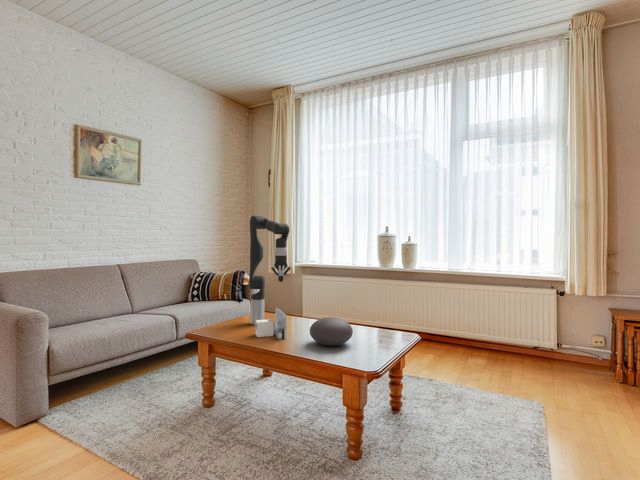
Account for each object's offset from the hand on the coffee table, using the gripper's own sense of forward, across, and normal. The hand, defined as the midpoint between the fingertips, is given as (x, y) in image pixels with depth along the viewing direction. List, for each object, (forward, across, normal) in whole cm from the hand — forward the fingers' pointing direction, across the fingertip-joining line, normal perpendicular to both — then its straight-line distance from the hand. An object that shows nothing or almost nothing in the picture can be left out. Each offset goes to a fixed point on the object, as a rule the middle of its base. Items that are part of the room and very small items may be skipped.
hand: (280, 281), depth 230 cm
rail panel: (+32, +3, +5) cm, 33 cm away
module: (+32, +11, +5) cm, 34 cm away
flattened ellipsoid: (+32, -21, +35) cm, 52 cm away
